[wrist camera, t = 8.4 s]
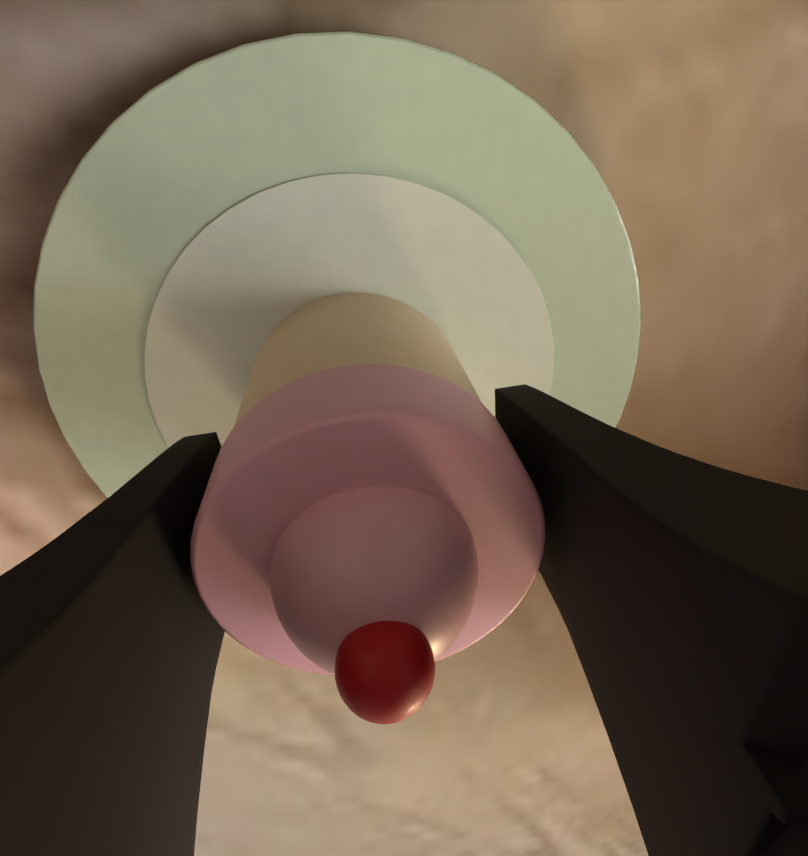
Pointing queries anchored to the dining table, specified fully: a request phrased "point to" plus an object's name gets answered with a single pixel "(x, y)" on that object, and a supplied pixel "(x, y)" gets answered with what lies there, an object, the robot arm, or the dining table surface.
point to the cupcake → (364, 506)
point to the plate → (323, 238)
